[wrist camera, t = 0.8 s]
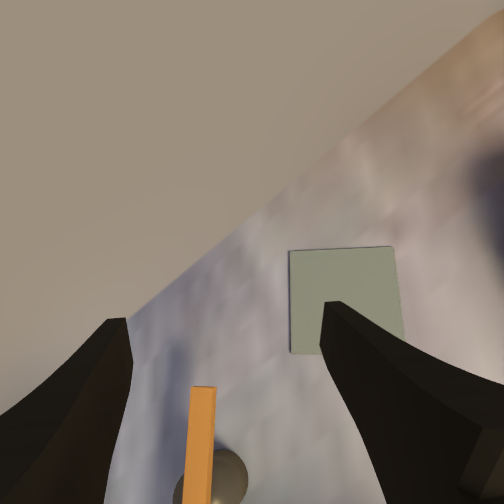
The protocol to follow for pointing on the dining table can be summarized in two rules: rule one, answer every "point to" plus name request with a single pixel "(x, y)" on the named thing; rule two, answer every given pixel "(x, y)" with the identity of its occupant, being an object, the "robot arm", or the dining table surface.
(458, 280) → the dining table surface
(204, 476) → the bar
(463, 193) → the dining table surface
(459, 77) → the dining table surface
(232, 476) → the plug
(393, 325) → the mat
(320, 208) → the dining table surface
